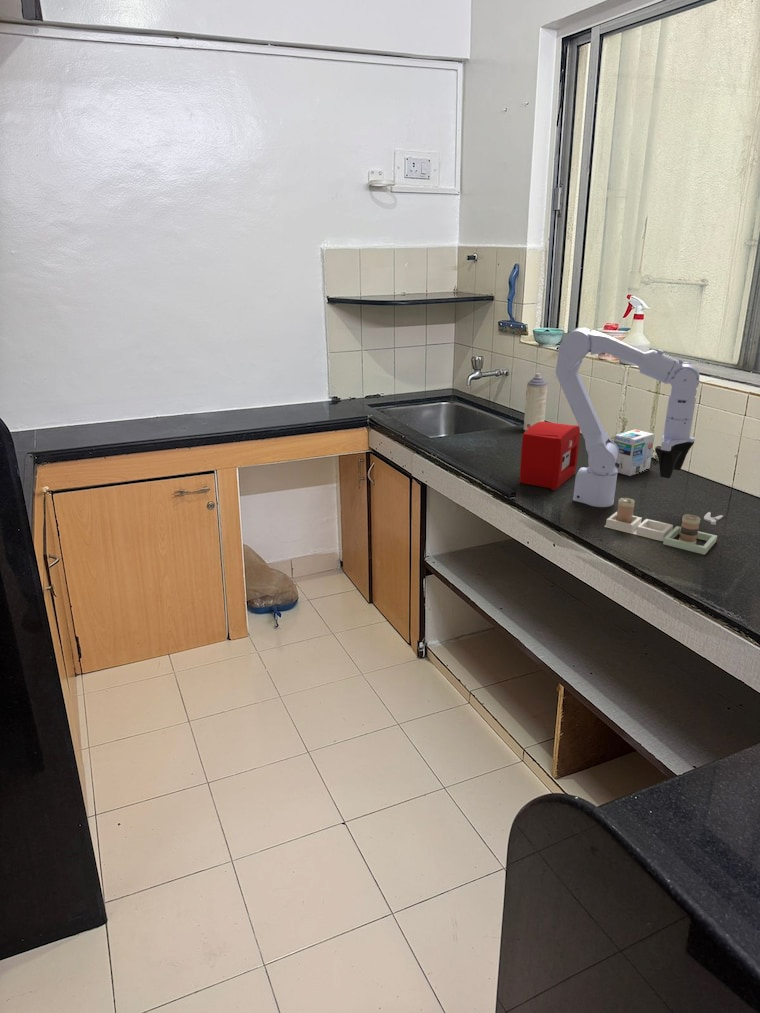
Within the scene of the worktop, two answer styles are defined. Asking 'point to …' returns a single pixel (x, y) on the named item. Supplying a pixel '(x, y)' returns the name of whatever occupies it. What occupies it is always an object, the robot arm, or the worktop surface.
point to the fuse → (625, 510)
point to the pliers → (711, 519)
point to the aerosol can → (535, 401)
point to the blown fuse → (689, 528)
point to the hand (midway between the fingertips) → (670, 473)
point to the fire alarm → (549, 454)
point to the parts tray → (704, 549)
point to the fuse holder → (641, 527)
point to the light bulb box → (634, 451)
